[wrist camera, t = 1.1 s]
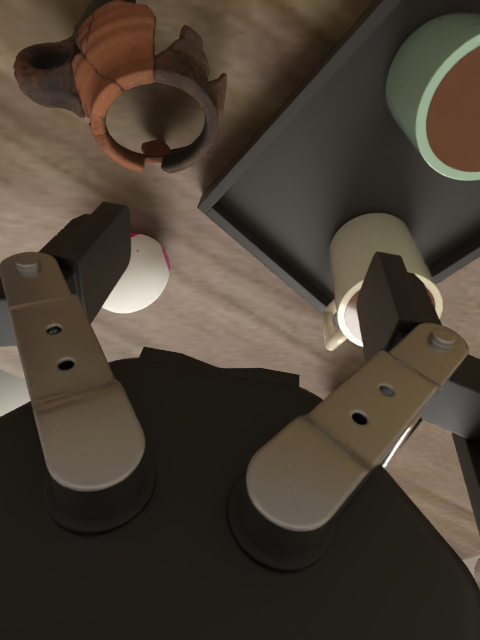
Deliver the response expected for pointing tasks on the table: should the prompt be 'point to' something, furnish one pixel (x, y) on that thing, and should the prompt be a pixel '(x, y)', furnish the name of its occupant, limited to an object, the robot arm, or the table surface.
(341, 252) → the cream cup
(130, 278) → the stress ball
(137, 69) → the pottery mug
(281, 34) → the table surface
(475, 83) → the green cup
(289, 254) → the tray
